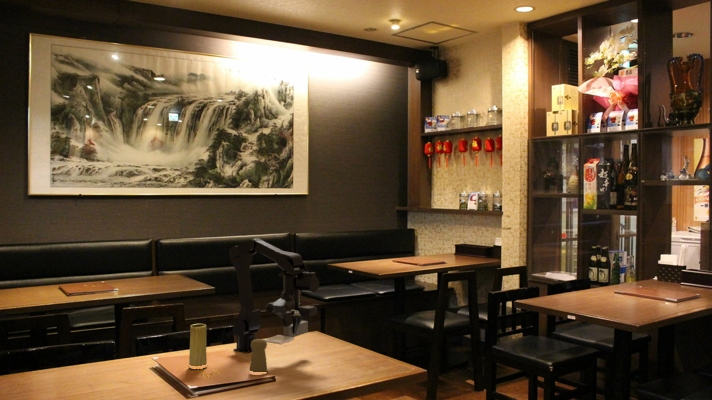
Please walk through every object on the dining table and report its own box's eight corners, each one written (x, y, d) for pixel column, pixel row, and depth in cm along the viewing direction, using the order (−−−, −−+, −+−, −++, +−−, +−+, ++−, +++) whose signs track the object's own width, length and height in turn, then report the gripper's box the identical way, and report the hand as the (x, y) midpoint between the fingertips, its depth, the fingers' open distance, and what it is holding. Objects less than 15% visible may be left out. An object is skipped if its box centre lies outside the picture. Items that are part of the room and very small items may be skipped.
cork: (252, 376, 192) (252, 342, 192) (246, 371, 198) (247, 338, 198) (270, 374, 195) (270, 340, 195) (264, 369, 201) (264, 336, 200)
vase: (184, 368, 200) (185, 326, 200) (196, 364, 205) (196, 322, 205) (199, 371, 197) (200, 328, 197) (210, 366, 203) (211, 324, 203)
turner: (264, 341, 204) (264, 330, 204) (297, 330, 222) (297, 319, 222) (280, 344, 201) (280, 332, 201) (313, 333, 219) (313, 322, 219)
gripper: (256, 290, 210) (256, 334, 210) (300, 295, 201) (299, 341, 201) (275, 286, 219) (275, 328, 220) (318, 290, 210) (317, 334, 211)
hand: (291, 333), depth 212 cm, fingers closed on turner, 2 cm apart
